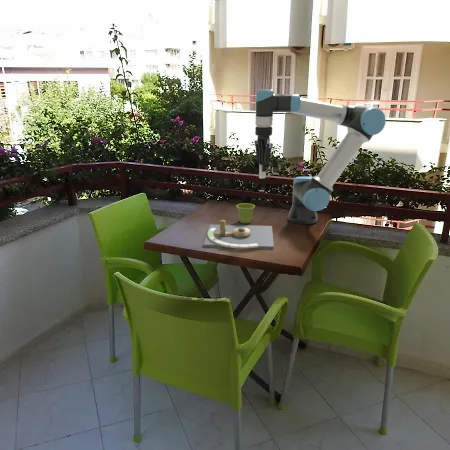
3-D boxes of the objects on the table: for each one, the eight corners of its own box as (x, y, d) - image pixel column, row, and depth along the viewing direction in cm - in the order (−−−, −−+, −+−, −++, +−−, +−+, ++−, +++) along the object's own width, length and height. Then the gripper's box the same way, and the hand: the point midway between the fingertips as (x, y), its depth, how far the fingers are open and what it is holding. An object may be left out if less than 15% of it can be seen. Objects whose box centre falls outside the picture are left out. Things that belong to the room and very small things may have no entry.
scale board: (271, 228, 193) (272, 224, 192) (273, 251, 166) (274, 247, 165) (210, 226, 195) (210, 222, 195) (202, 249, 168) (202, 245, 168)
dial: (248, 230, 186) (248, 216, 183) (251, 236, 178) (252, 222, 176) (213, 232, 184) (213, 218, 181) (215, 238, 176) (214, 224, 174)
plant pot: (253, 225, 197) (253, 209, 194) (235, 224, 199) (235, 208, 196) (255, 219, 206) (255, 203, 203) (238, 218, 208) (238, 202, 205)
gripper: (278, 127, 168) (276, 180, 177) (264, 124, 180) (262, 174, 188) (263, 128, 166) (262, 181, 174) (249, 125, 177) (248, 176, 185)
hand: (262, 178), depth 181 cm, fingers closed
